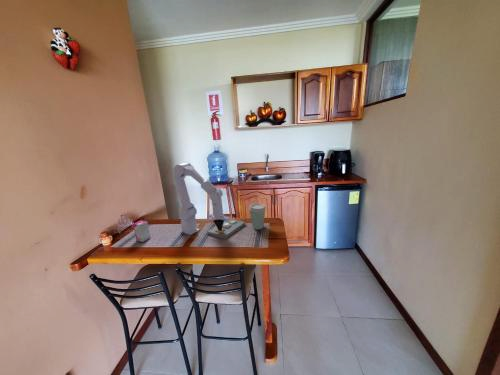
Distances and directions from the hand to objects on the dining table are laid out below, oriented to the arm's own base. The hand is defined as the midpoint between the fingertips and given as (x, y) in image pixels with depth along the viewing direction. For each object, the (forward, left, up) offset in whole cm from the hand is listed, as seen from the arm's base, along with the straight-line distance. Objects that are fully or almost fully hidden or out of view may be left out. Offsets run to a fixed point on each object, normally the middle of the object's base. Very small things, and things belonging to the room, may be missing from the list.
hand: (220, 230), depth 120 cm
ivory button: (0, +6, -1) cm, 7 cm away
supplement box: (-39, -27, -3) cm, 47 cm away
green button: (0, +13, -2) cm, 13 cm away
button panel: (0, +6, -2) cm, 7 cm away
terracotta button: (0, 0, -2) cm, 2 cm away
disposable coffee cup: (+17, +17, -3) cm, 25 cm away
